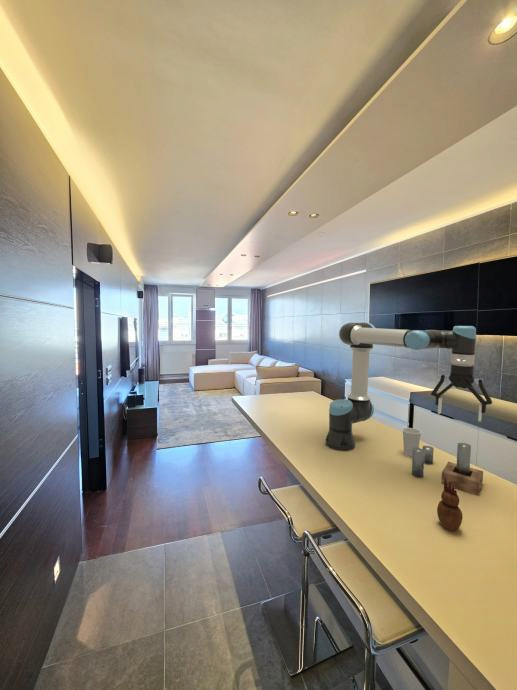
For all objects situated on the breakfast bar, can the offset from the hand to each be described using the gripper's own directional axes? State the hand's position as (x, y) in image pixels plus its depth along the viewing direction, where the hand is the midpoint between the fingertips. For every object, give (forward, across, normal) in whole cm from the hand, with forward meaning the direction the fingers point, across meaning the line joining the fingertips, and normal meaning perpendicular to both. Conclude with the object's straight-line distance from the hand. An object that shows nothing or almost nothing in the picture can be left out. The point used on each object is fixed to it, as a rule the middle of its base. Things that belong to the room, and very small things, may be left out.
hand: (458, 416), depth 119 cm
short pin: (+27, -12, +10) cm, 31 cm away
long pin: (+27, +3, -1) cm, 27 cm away
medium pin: (+27, -12, -6) cm, 30 cm away
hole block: (+27, +3, -1) cm, 27 cm away
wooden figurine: (+27, +4, -34) cm, 44 cm away
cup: (+27, -20, +13) cm, 37 cm away
